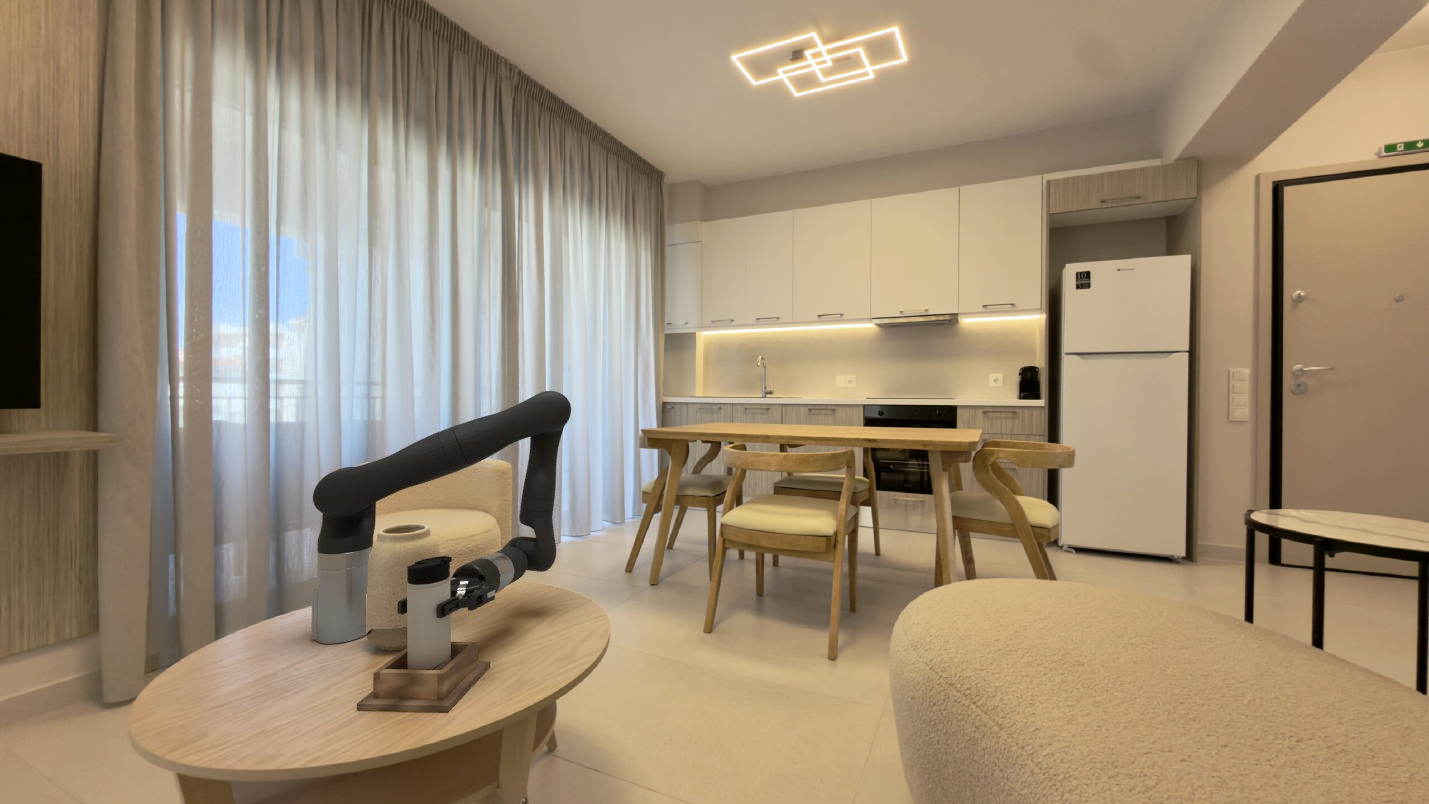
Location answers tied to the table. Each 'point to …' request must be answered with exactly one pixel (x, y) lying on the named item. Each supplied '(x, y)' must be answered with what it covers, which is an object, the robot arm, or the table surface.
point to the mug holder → (425, 682)
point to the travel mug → (428, 614)
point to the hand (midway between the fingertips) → (418, 610)
